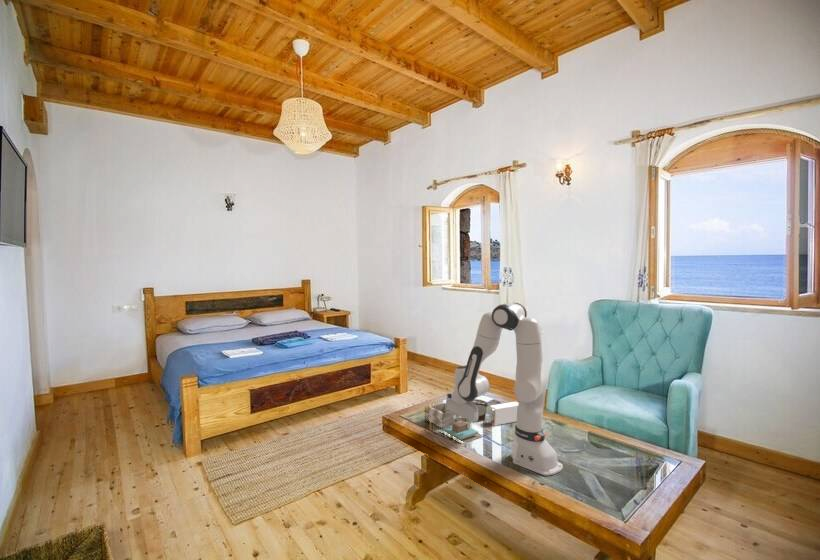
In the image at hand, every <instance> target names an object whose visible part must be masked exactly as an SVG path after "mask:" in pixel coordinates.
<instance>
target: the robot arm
mask: <svg viewBox="0 0 820 560" xmlns="http://www.w3.org/2000/svg"><path fill="white" fill-rule="evenodd" d="M527 315H528V313H527V309H526V308H525V306H524V305H522V303H518V302H506V303H503V304H499V305H497V306H496V307H494V308H493V310H492V311H491V312H485V313H484V314H483V315H482V316H481V318H480V321H479V324H478V328H477V332H476V337H475V339H474V343H473V345H472V348H471V351H470V353H469V356H468V359H467V363H466V364H465V365H460V366H457V367H456V368H455V371H454V379H453V385H454V389H453V391H452V392H451V391H450V392H447V393H446V400H445V403H446V409H447V410H448V411H450V412H451V414H452V417H453V421H454V422H456V421H457V418H456V415H455V414H457V415H459V416H460V417H461V418H463V419H465V420H466V421H467V424H466V427H467V428H471V425H472V423H474V422H478V421H479V420H478V406H477V405H476V403H475V402H472V400H474V399H477V398H479V397H481V396H483V395H485V394H487V393H488V392H489V390H490V389H491V388H490V387H491V386H490V380H489V379H488V378H487V377H486V376H485V375H483V374H480V373H479V372H480V368H481V366H482V364H483V363H484V361H485V360H486V359H487V358H489V357H490V356H491V355H492V354H494V353H495V352H496V350H497V348H498V347H499V344H500V341H501V336H502V335H501V333H502V330H503V329H504V330H508V331H514V334H515V347H516V349H515V350H516V365H515V366H516V368H515V381H514V382H515V383H514V388H513V392H514V394H515V397H516V398H517V400H518V403H519V404H518V408H517V421H516V422H515V423H516V424H515V426H514V434H515V435H514V444H513V447H512V451H511V454H510V457H511V458H512V463H513V464H515V465H517V466H520V467H522V468H524V469H527V470H530V471H532V472H534V473H537V474H539V475H542V476H553V475H555V474H559V473H560V472H561V471H562V470H563V469H564V467H563V463H561V462H559V461H558V453H557V452H556V450H555V449H554V447H552V445H551V444H549V442H548V441H547V440H546V436H547V434H548V433H547V432H546V433H544V429H543V413H544V407H545V400H546V394H547V393H546V392H547V385H548V378H547V376H546V374H545V373H544V372H543V371H542V366H543V346H542V335H541V329H540V326H539V323H538V321H537V320H536V319H535V318H533V317H527Z"/></svg>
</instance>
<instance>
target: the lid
mask: <svg viewBox="0 0 820 560" xmlns="http://www.w3.org/2000/svg"><path fill="white" fill-rule="evenodd" d="M467 423H468V421H467V422H466V421H465V420H463V421H459V423H455V424H452V426H449V427H445V428H443V429H442V431H445V432H447V433H448V434H450V435H452V436H454V437H456V438H457V439H459V440H462V439H465V438H468V437H471V436H474V435H476V434H477V435H479V431H478V430H476V429H474V428H472V427H470V428H467V427H466V424H467Z"/></svg>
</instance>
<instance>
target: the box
mask: <svg viewBox="0 0 820 560" xmlns="http://www.w3.org/2000/svg"><path fill="white" fill-rule="evenodd" d="M427 413H428V415H427V416H428V417H427V421H428V420H429V421H431V422H432V423H434V424H436V425H437V426H436V425H435V426H436V427H438V426H439V427H438V428H440V427H441V428H440V429H442V428H445V427H449V426H452V424H455V423H459V422H460V417H461V416H459V415H457V414H455V415H456V418H457V421H456V422H454V421H453V417H452V414H451V412H450V411H448V410H447V409H446V402H443V403H439V404H435V405H431V406H428V412H427ZM429 421H428V422H429ZM431 422H430V423H431ZM432 423H431V424H432ZM434 424H433V425H434Z"/></svg>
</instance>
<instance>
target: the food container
mask: <svg viewBox="0 0 820 560" xmlns="http://www.w3.org/2000/svg"><path fill="white" fill-rule="evenodd" d="M472 402H475V403H476V405H477V406H478V420H477V421H482V422H485V420H486V415H487V409H488V407H489V406H488V402H487V401H485V400H484V399H483V400H482V399H479V398H478V399H477V398H475V399H474V400H472Z"/></svg>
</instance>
